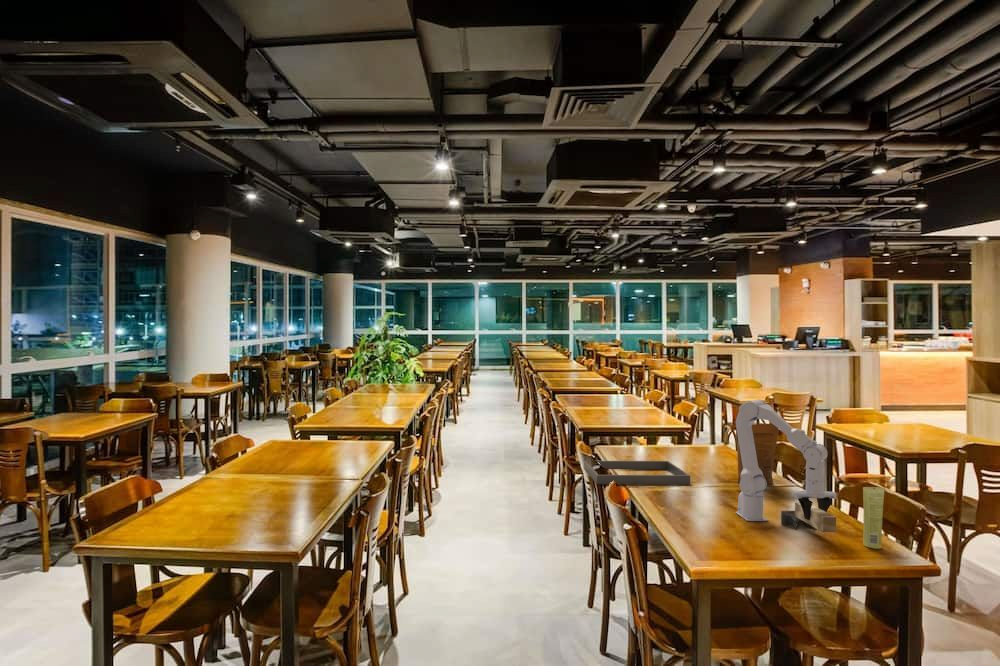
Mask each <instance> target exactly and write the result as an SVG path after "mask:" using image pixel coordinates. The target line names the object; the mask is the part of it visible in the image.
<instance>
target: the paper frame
mask: <svg viewBox="0 0 1000 666" xmlns="http://www.w3.org/2000/svg"><path fill="white" fill-rule="evenodd" d="M587 461H588V460H583V470H584V471H585V472H586V474H588V475H589V477H590V478H591V479H592V480H593V481H594V483H595V484H596V485H610V484H609V483H610V482H612V481H613V480H614V481H616V482H617V483H619V484H618V485H691V475H690V474H688V473H687V472H686V471H684V470H683V469H681V468H680V467H678V466H677V465H675V464H674V463H672V462H670V461H668V460H596V461H597V462H599V463H600V464H601V466H602V467H603V468H605V469H604V470H667V471H668V470H669V471H668V472H670V473H671V474H598V472H597V471H596V469H593V468H592V467H591V466H590V465H589V464H588V463H587Z"/></svg>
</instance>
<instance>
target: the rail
mask: <svg viewBox="0 0 1000 666" xmlns="http://www.w3.org/2000/svg"><path fill="white" fill-rule="evenodd" d="M794 511H795V517H797V518H799V519H801V520H802V521H804V522H806V523H808V524H809V525H811V526H813V527H814V529H817V530H818V531H820V532H821V533H836V532H837V531H836V530H837V516H836V515H833V514H831V513H829V512H828V511H827V512H825V511H823V510H821V509H819V508H818V506H815V505H814V504H812V506H811V515H810V520H807V519H805V518H804V513H803V510H802V507H801V504H800V502H799V501H795V502H794Z"/></svg>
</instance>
